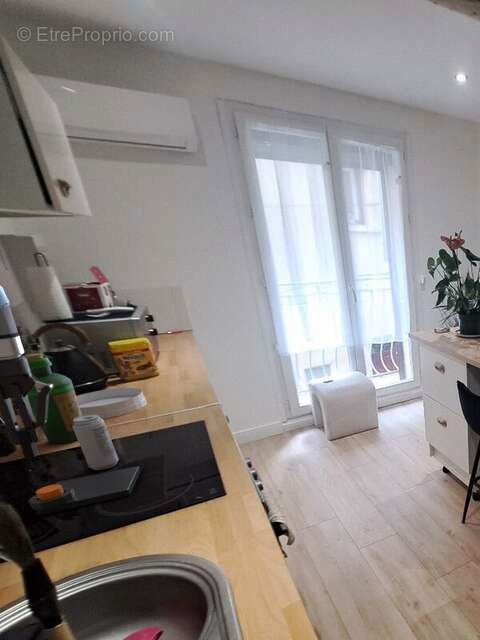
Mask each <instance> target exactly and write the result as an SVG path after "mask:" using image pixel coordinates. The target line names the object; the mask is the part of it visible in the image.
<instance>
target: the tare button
mask: <svg viewBox="0 0 480 640" xmlns="http://www.w3.org/2000/svg"><path fill="white" fill-rule="evenodd" d="M62 494H64V491H63V489H62V486H61V485H59V484H56V483H55V484H50V485H46V486H44V487H40V488H39V489H37V490H36V491H35V495H37V496H38V498H39V500H48V499H52V498H55V497H58V496H60V495H62Z"/></svg>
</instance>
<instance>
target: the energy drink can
mask: <svg viewBox="0 0 480 640" xmlns="http://www.w3.org/2000/svg"><path fill="white" fill-rule="evenodd" d="M73 421H74V424H73V426H72V427H73V429H74V432H75V434H76V436H77V439H78V440H77V441H78V443H79V446H80V449H81V451H82V453H83V456H84V459H85V460H86V464H87V465H88V468H91V469H92V470H94V471H101V470H102V471H103V470H106V469H109V468H112V467H115V466H116V465H117V464H118V462H119V459H120V458H119V457H118V454H117V452H116V449H115V446H114V444H113V442H112V441H113V440H112V438H111V436H110V433H109V430H108V428H107V426H106V423H105V419H101V418H100V417H99V415H95V414H93V415H85V416H81V417H78V418H75V419H74V420H73Z"/></svg>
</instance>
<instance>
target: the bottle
mask: <svg viewBox="0 0 480 640" xmlns="http://www.w3.org/2000/svg"><path fill="white" fill-rule="evenodd" d="M25 357H26V358H27V361H28V365H29V368H30V371H31V374H32V375H33V376H34V377H35V378H36V379H37V381H39V382H42V383H46V384H48V383H51V384H53V385H54V386H53V388H52V390H51V391H50V392H49V402H48V416H47V422H46V423H45V425H44V426H41V427H40V429H41V431H42V432H43V434H44V436H45V438H46V439H47V441H48V443H50V444H54V445H55V444H56V445H57V444H59V445H60V444H67V443H73V442H75V441H78V439H77V436H76V434H75V432H74V429H73V427H72V426H73V424H74V421H73V420H74V419H75V418H78V417H81V416H82V414H81V410H80V407H79V404H78V401H77V397H76V396H77V394H76V390H75V388H74V384H73V381H72V379H71V378H69V377H67V376H66V375H64V374H60V373H55V372H53V371H52V369H51V366H52V365H53V363H52V362H51V361H50V360H49V358H48V357H46V356H43V353H30V354H26V355H25ZM39 393H40V392H37V391H36V387H35V386H34V387H33V388H32V389H31V391H30V392H29V393H28V394H27V395H28V401H29V404H30V407H31V409H32V412H33V415H34V418H35V421H37V406H38V395H39Z"/></svg>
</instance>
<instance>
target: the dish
mask: <svg viewBox="0 0 480 640" xmlns="http://www.w3.org/2000/svg"><path fill="white" fill-rule="evenodd" d="M76 397H77V401H78V404H79V407H80V410H81V414H82V416H85V415H93V414H95V415H99V417H100V418H101V419H103V420H105V419H110V418H116V417H120V416H123V415H127V414H130V413H134V412H137V411H139V410H140V409H142V408H144V407H145V406H147V400H146V397H145V395H144V392H143V390H142V389H140V388H135V387H121V388H110V389H102V390H96V391H92V392H86V393H82V394H78V395H76Z"/></svg>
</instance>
